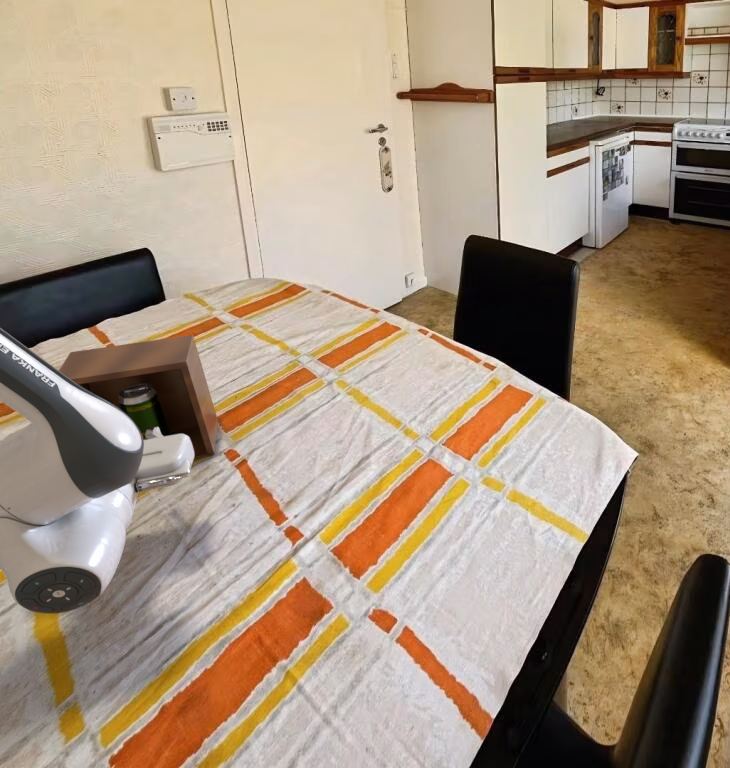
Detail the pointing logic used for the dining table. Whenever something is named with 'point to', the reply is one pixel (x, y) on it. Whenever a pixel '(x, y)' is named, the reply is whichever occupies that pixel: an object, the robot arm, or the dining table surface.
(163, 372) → the cupboard
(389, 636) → the dining table surface
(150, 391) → the beer can
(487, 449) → the dining table surface
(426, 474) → the dining table surface
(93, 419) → the robot arm
